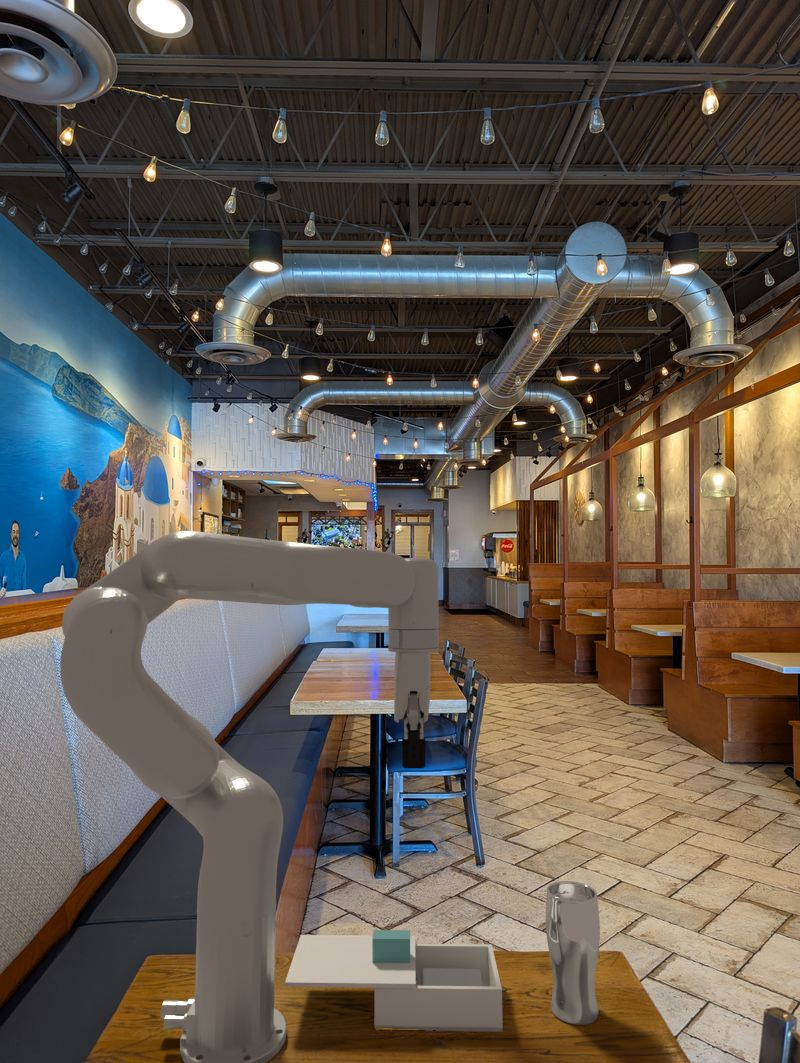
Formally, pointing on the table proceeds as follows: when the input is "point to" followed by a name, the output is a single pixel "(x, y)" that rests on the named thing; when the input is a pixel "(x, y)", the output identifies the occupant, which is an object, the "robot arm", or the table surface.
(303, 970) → the box lid
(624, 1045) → the table surface
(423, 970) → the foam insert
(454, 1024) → the mailer box
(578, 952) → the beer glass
